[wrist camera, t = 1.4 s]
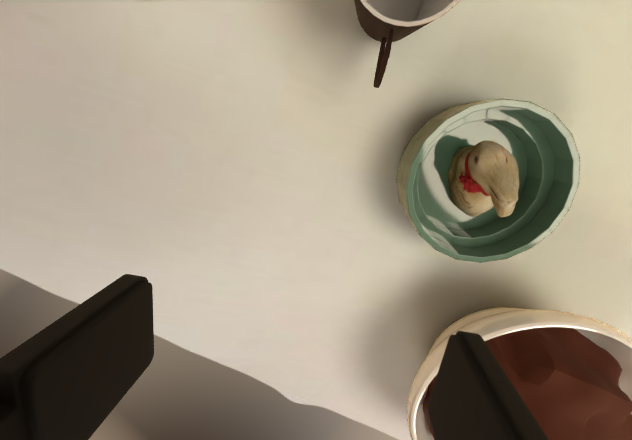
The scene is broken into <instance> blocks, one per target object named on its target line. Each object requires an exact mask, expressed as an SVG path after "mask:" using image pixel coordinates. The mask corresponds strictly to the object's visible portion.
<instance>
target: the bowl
mask: <svg viewBox="0 0 632 440" xmlns="http://www.w3.org/2000/svg"><path fill="white" fill-rule="evenodd" d="M485 140H486V141H493V142H496V143H498V144H500V145H501V146H503V147H504V148H505V149H506V150H507V151H508V152H509V153H510V154H511V155H513V156H514V157H515V159H516V162H517V165H519V166H518V171H519V173H518V176H519V189H518V200H517V202H516V204H515V208H514V210H513V212H512V214H511V215H509V216H506V217H499V216H498V214H497V212H496V209H495V207H494V206H493V208H491V209H490V210H488V211H486V212H484V213H481V214H480V215H479V216H476V217H471V216H469V215H467V214H466V213H464V212H463V211H461V210H460V209H459V208H458V207H457V206H456V205H455V204H454V202H453V200H452V197H451V194H450V188H449V182H448V171H449V168H450V166H451V163H452V160H453V156H454V154H456V153H457V151H458V150H459V149H460V148H463V147H465V146H472V145H474V146H475V145H476V144H477V143H479V142H482V141H485ZM579 170H580V157H579V154H578V151H577V148H576V145H575V142H574V139H573V136H572V134H571V132H570V131H569V130H568V129H567V128H566V127H565V125H564V124H563V123H562V122H561V121H560V120H559V119H558V117H557V116H556V115H555V114H554V113H552V112H550V111H548V110H546V109H544V108H542V107H540V106H538V105H536V104H534V103H532V102H528V101H518V100H509V99H495V100H488V101H480V102H473V103H469V104H464V105H460V106H455V107H451V108H450V109H448V110H446V111H444V112H442V113H441V114H439V115H437V116H435V117H433V118H432V119H430V120H429V121H428V122H427V123H426V124H425V125H424V126H423V127H422V128H421V129H420V130H419V131H418V132H417V133H416V134H415V135H414V136H413V138H411V140H410V142H409V144H408V146H407V148H406V150H405V152H404V153H403V155H402V157H401V160H400V165H399V170H398V175H397V188H398V195H399V201H400V203H401V205H402V207H403V209H404V211H405V213H406V215H407V217H408V219H409V220H410V222H411V223H412V225H413V226H414V228H415V229H416V231H417V232H418V233H419V235H420V236H421V237H422V238H423V239H425V240H426V241H427V242H428V243H429V244H430V245H431V246H432V247H433V248H434V249H435V250H437V251H439V252H441V253H443V254H446V255H448V256H450V257H452V258H454V259H457V260H464V261H472V262H480V263H481V262H488V261H495V260H502V259H507V258H509V257H512V256H514V255H516V254H519V253H521V252H523V251H526V250H528V249H530V248H532V247H533V246H535V245H536V244H537V243H538V242H540V241H541V240H542V239H544V238H545V237H546V236H547V235H549V234H550V233H551V232H552V231H553V230H554V229H555V228H556V226H557V225H558V224H559V222H560V221H561V220H562V219H563V217H564V216H565V215H566V213H567V212H568V211H569V209H570V206H571V204H572V201H573V199H574V196H575V193H576V191H577V188H578V186H579V185H578V184H579Z"/></svg>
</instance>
